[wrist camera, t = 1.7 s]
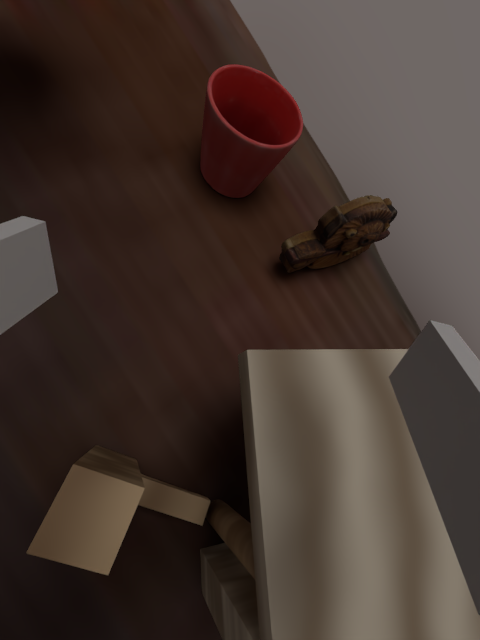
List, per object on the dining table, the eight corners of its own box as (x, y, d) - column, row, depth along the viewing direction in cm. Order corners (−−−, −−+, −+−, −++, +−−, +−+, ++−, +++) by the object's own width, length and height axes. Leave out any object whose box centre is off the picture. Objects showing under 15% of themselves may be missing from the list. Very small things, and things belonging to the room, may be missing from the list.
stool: (201, 592, 24) (284, 779, 11) (194, 380, 29) (246, 349, 16) (366, 543, 30) (537, 630, 17) (336, 374, 35) (453, 349, 22)
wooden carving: (280, 293, 36) (332, 251, 27) (263, 260, 36) (307, 209, 27) (366, 256, 43) (428, 214, 34) (350, 230, 44) (408, 181, 35)
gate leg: (233, 494, 27) (304, 542, 16) (220, 538, 25) (288, 624, 15) (96, 444, 24) (73, 463, 14) (72, 491, 23) (26, 553, 12)
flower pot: (281, 193, 41) (322, 133, 32) (220, 220, 36) (249, 157, 27) (237, 134, 41) (266, 59, 33) (171, 152, 36) (185, 69, 28)
